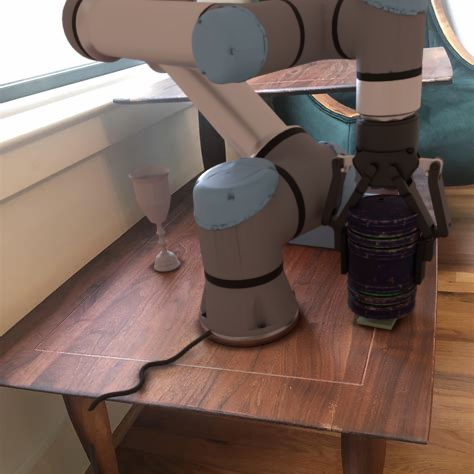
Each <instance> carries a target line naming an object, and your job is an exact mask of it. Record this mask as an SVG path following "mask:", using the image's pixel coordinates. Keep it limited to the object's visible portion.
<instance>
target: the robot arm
mask: <svg viewBox="0 0 474 474" xmlns="http://www.w3.org/2000/svg"><path fill="white" fill-rule="evenodd" d="M428 11H429V3H428V0H262V1H254V2H244V3H243V2H214V1H213V2H212V1H209V2H208V1H198V0H65V3H64V5H63V8H62V13H61V24H62V29H63V33H64V36H65V38H66V41H67V42H68V43H69V45H70V46H71V48H72V49H73V50H74V51H75V52H76V53H78V54H79V55H80V56H81V57H83V58H85V59H87V60H90V61H94V62H100V63H105V64H110V63H116V62H118V61H120V60H121V59H127V60H132V61H139V62H145V63H146V65H147V66H148V67H149V68H150V70H152V71H154V72H155V73H159V74H167V75H168V76H169V77H170V79H171V80H172V81H173V82H174V83H175V84H176V86H177V87H178V88H179V89H180V90H181V91H182V92H183V94H184V95H185V96H186V97H187V99H189V101H190V102H191V103H192V104H193V105H194V106H195V108H196V109H197V110H198V111H199V112H200V113H201V115H202V116H203V117H204V119H206V120H207V122H208V123H209V124H210V125H211V126H212V127H213V129H214V130H215V131H216V132H217V134H219V135H220V137H221V138H222V139H223V140H224V141H225V142H226V143H227V145H228V146H229V147H230V148H231V149H232V151H234V153H235V154H236V156H238V157H239V158H238V159H237V160H228V161H225V162H222V163H220V164H217V165H215V166H213V167H211V168H209V169H208V170H206V171H204V173H202V174H201V175H199V177H198V179H197V180H196V182H195V183H194V186H193V189H192V190H193V191H192V201H193V218H194V221H195V223H196V229H197V235H198V243H199V248H200V255H201V260H202V268H203V272H204V279H205V280H204V285H203V290H202V294H201V300H200V306H199V311H198V312H199V313H198V317H199V324H200V329H201V331H202V333H203V334H201V335H200V336H198V337H197V338H195V339H194V340H193V341H191V342H190V343H188V344H187V345H186V346H184V347H183V348H182V349H181V350H180V351H179V352H178V353H176V354H175V355H173V356H171V357H169V358H167V359H162V360H153V361H149V362H147V363H144V364H143V365H142V366H141V367H140V369H139V372H138V379H139V381H138V384H136V385H135V386H133V387H131V388H129V389H124V390H117V391H110V392H107V393H103V394H101V395H99V396H97V397H95V399H93V401H92V402H91V404H90V405H89V407H88V409H87V412H92V411H94V410H95V409H96V407H97V406H98V405H99V404H100V403H102V402H103V401H105V400H108V399H112V398H113V399H114V398H119V397H120V398H121V397H126V396H130V395H133V394H136V393H137V392H139V391H140V390H142V389H143V387H144V385H145V383H146V377H145V374H146V371H147V370H148V369H150V368H153V367H160V366H161V367H163V366H167V365H170V364H172V363H175V362H176V361H178V360H180V359H181V358H182V357H183V356H185V354H187V353H188V352H189V351H190V350H192V349H193V348H194V347H196V346H198V345H199V344H200V343H201V342H202V341H204V340H205V339H207V338H208V339H210V340H211V341H213V342H216V343H218V344H221V345H225V346H230V347H231V346H232V347H255V346H261V345H265V344H269V343H271V342H274V341H277V340H279V339H281V338H283V337H284V336H287V335H288V334H289V333H290V332H292V331H293V329H295V327H296V326H297V324H298V323H299V318H300V312H299V311H300V310H299V302H298V300H297V297H296V291H294V290H293V288H292V286H291V284H290V281H289V279H288V277H287V275H286V272H285V270H284V254H283V246H284V245H285V244H287V243H289V241H291V240H293V239H295V238H297V237H299V236H301V235H303V234H305V233H307V232H309V231H311V230H313V229H315V228H317V227H320V226H322V225H323V226H329V227H331V228H333V230H334V248H335V249H334V250H335V251H337V252H340V275H344V276H346V275H348V268H349V248H348V243H347V238H348V235H347V226H346V223H347V222H348V217H349V216H348V208H349V209H354V208H355V207H356V205H357V204H358V203H359V202H360V200H361V199H362V197H363V195H364V194H365V193H367V190H368V189H369V188H370V189H371V190H381V189H384V190H387V191H396V190H397V192H398V195H400V196H401V197H403V199H404V201H405V202H406V204H407V206H408V208H409V210H410V212H411V214H417V213H418V219H416V223H417V225H418V227H419V229H420V231H421V235H420V238H419V240H418V245H417V259H416V273H415V285H417V286H421V285H422V283H423V281H424V279H425V277H426V265H427V263H428V262H429V263H431V262H432V260H433V258H434V256H435V254H436V243H437V239H440V238H443V239H445V238H447V237H448V236H449V235H450V233H451V231H452V228H453V223H452V217H451V214H450V208H449V204H448V199H447V195H446V194H447V193H446V189H445V184H444V180H443V175H442V174H443V170H444V162H445V160H444V158H443V156H436V157H435V158H427V157H422V156H421V155H420V152H419V136H420V135H419V132H420V117H421V116H420V114H419V113H418V112H417V111H418V110H419V109H420V108H421V104H422V87H423V86H422V85H423V60H424V59H423V58H424V49H425V48H424V47H425V34H426V23H427V13H428ZM326 60H327V61H329V60H348V61H355V71H356V89H355V90H356V91H355V94H356V95H355V97H356V98H355V111H356V113H357V114H358V117H357V118H356V119H355V152H354V154H353V155H352V154H350V155H349V153H348V152H347V151H346V150H345V148H343V147H342V146H341V145H340V144H338V143H336V142H334V141H326V140H321V141H319V142H316V141H315V140H314V138H312V137H311V136H310V134H309V133H308V132H307V131H306V130H305V129H304V128H303V127H302V126H300V125H287V124H285V122H284V121H283V120H282V119H281V118H280V117H279V116H278V114H276V112H274V110H273V109H272V108H271V107H270V106H269V105H268V104H267V103H266V102H265V100H264V99H263V98H262V97H261V95H260V94H258V93H257V92H256V90H255V89H254V88H253V87H252V86H251V85H250V84H249V83H248V82H247V81H249V80H252V79H255V78H258V77H262V76H266V75H269V74H273V73H277V72H280V71H284V70H288V69H292V68H295V67H301V66H303V65H307V64H312V63H315V62H319V61H326ZM418 169H421V171H422V175H423V176H424V177H425V178H427V187H428V191H429V197H430V200H431V205H432V210H433V214H434V219H435V221H434V219H433V217H432V216H431V214H430V212H429V209H428V207H427V206H426V204H425V202H424V200H423V198H422V196H421V194H420V191H419V190H418V188H417V184H416V181H415V180H414V177H413V175H414V173H415V172H416V171H417V170H418ZM356 172H357V173H358V175H359V176H360V179H359V180H358V183H356V177H357V174H356ZM338 216H339V217H338ZM95 445H96V444H95V443H92V442H89V441H88V448H89V456H90V463H91V470H92V474H100V473H99V468H98V460H97V453H96V446H95Z"/></svg>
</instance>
